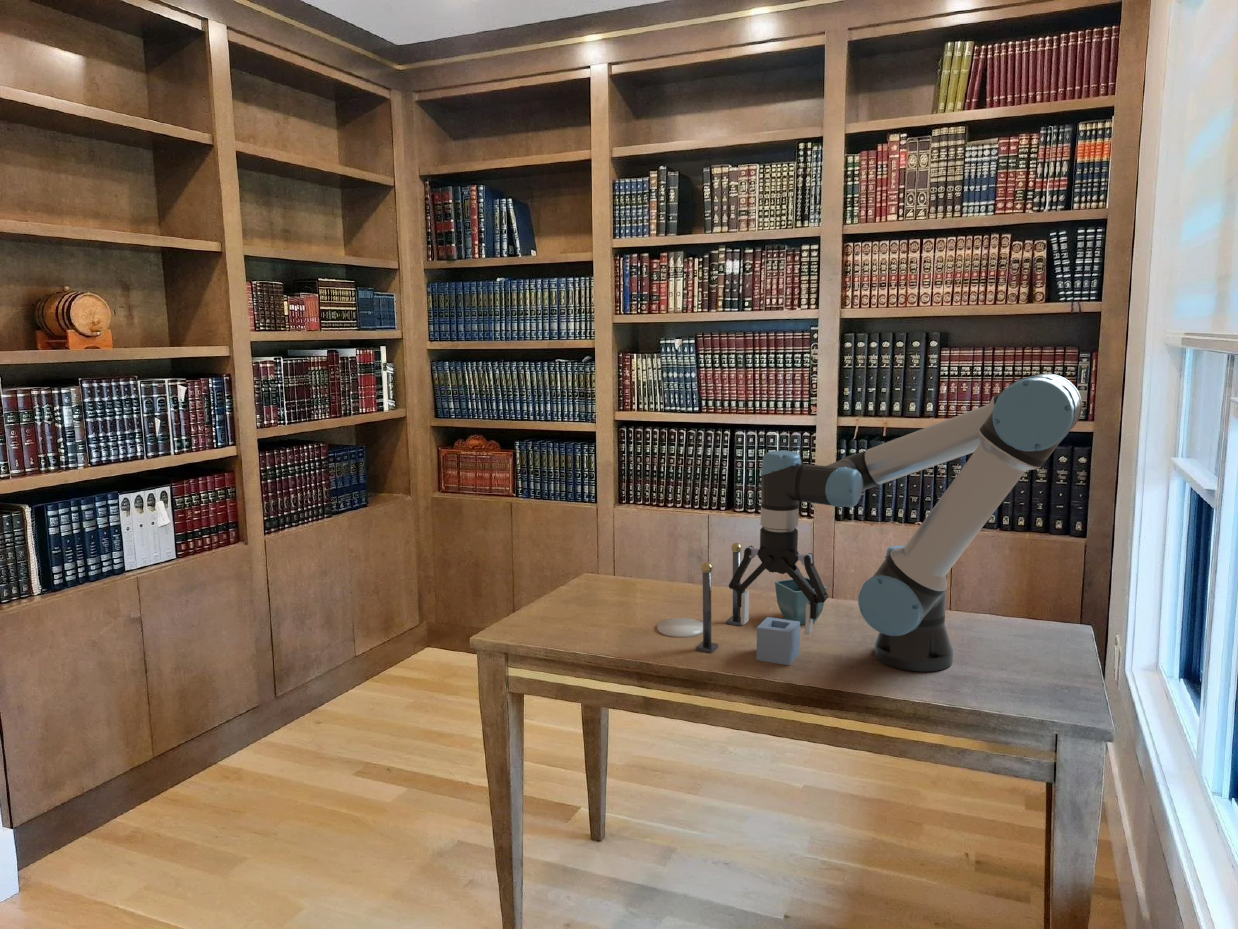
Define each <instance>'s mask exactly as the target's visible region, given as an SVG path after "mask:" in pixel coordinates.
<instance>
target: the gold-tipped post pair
mask: <svg viewBox="0 0 1238 929" xmlns="http://www.w3.org/2000/svg"><path fill="white" fill-rule="evenodd" d="M730 550H731V551H732V577H733V576H734V574H735V573H736V571H737V569H738V567H739V565H740V563H741V562H742V558H741V556H742V555H741V553H742V550H743V547H742V544H741V543H739V542H734V543H732V545H731V549H730ZM713 569H714V568H713V565H712V563H710V562H705V561H704V562H703V563H702V564H701V567H700V570H701V571H702V622H703V633H702V641H701V642H700V643H698V645H697V646H695V649H696V650H695V651H698V652H704V653H710V654H712V653H714V651H716V650H717V649H718V648H719V643H717V642H716V643H715V642H712V571H713ZM739 583H740V584H742V583H741V580H740V581H739ZM726 625H731V626H736V627H737V626H738V627H742V626H743V625H744V624H741V607H738V605H737V591H736V590H734V589H732V615H731V616H730V617H729V618H727V619H726Z"/></svg>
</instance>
